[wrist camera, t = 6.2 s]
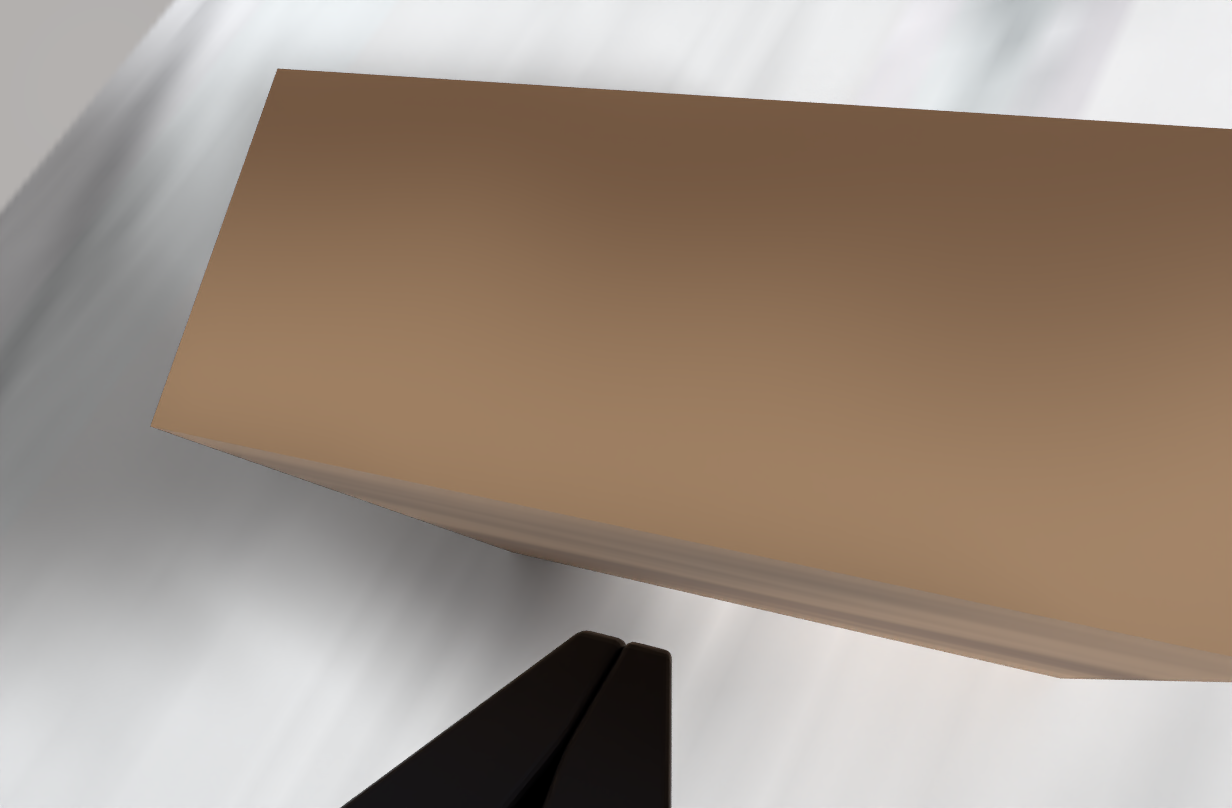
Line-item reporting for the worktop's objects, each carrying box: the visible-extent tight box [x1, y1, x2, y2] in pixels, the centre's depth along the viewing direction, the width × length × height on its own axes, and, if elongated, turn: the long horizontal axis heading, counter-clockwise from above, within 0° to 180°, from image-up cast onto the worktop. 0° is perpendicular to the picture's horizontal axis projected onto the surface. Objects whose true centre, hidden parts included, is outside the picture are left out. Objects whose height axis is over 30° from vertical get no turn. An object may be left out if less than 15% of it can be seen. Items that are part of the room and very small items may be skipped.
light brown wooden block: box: [151, 69, 1232, 682], centre depth 13 cm, size 4×10×10 cm, turn 76°
